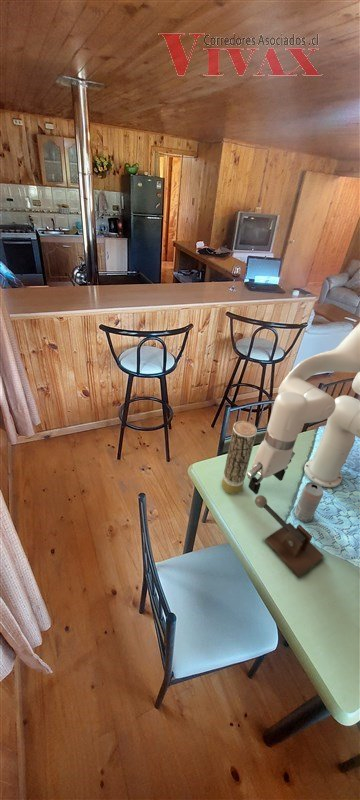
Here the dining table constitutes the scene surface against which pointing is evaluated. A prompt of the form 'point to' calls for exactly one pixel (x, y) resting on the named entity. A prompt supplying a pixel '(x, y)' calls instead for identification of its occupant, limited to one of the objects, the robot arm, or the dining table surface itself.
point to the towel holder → (294, 549)
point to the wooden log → (238, 456)
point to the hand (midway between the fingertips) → (265, 483)
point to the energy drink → (308, 501)
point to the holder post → (277, 517)
